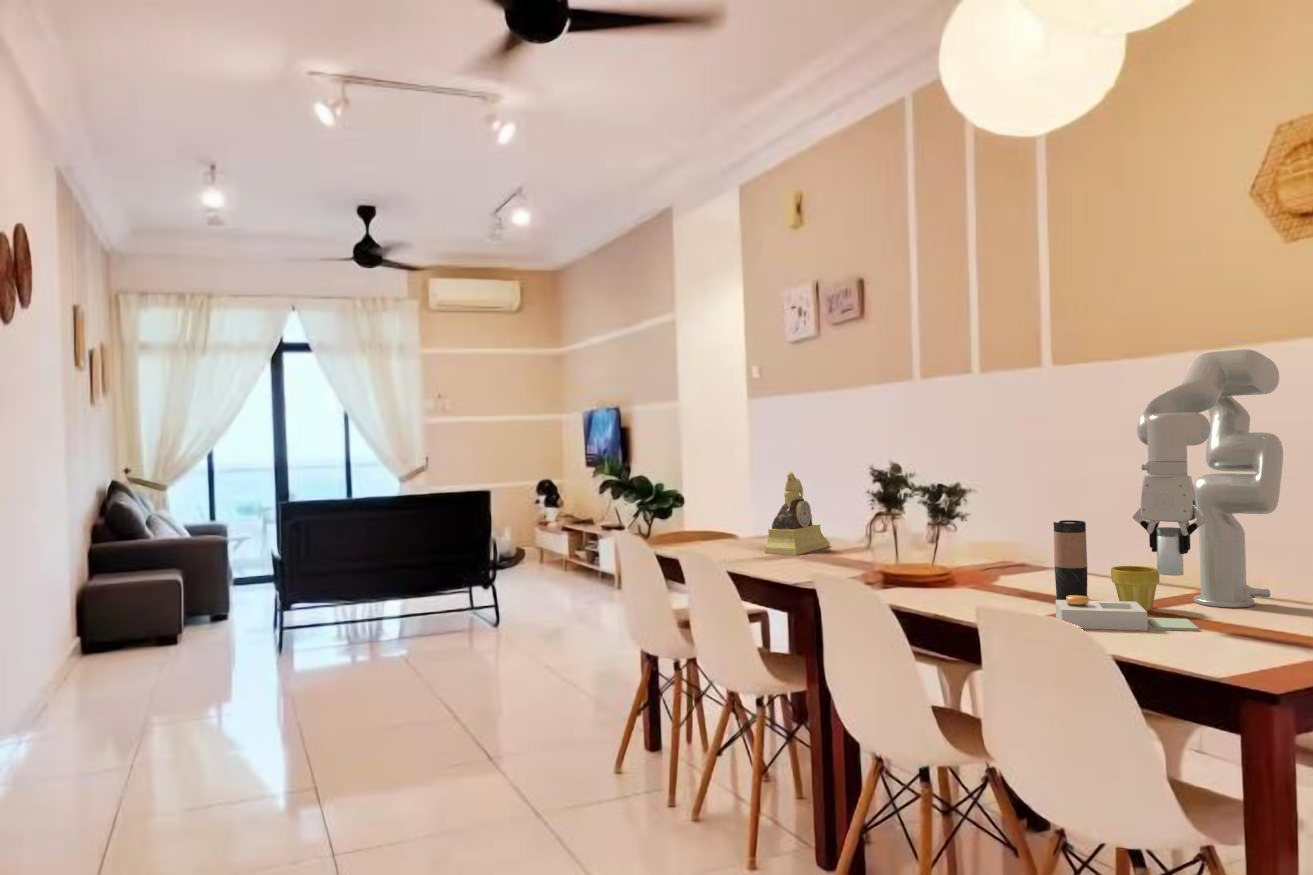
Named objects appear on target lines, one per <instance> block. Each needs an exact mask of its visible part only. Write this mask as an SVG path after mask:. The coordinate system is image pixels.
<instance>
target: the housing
mask: <svg viewBox="0 0 1313 875" xmlns="http://www.w3.org/2000/svg"><path fill="white" fill-rule="evenodd" d="M1055 618H1056V619H1057V618H1058V619H1060V620H1064V621H1066V622H1069V623H1072V624H1075V625H1078V626H1080V627H1082V628H1081V629H1089V630H1090V629H1092V630H1121V631H1122V630H1123V631H1148V630H1149V629H1148V619H1147V618H1148V611H1146V610H1145V609H1144V608H1142V607H1141V606H1140V605H1139V604H1138V603H1137V602H1130V601H1119V600H1089V603H1088V604H1085V607H1070V603H1067V602H1066V600H1057V599H1055Z"/></svg>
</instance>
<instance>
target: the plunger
mask: <svg viewBox="0 0 1313 875" xmlns="http://www.w3.org/2000/svg"><path fill="white" fill-rule="evenodd" d="M1089 598H1090V597H1088V595H1087V596H1080V595H1070V596H1066V602H1067V603H1070V607H1085V604H1088V603H1089V601H1090V600H1089Z"/></svg>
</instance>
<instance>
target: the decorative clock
mask: <svg viewBox="0 0 1313 875" xmlns="http://www.w3.org/2000/svg"><path fill="white" fill-rule="evenodd" d="M786 477H787V480H786V481H785V487H784V491H785V492H784V493H783V494H784V503H783V504H782V506H781V508H780V509H779V511H778V513H777V514H776V516H775V517H774V519H773V521H772V523H771V528H769V529H768V536H767V543H766V545H765V548H764V554H767V555H768V554H769V555H786V556H798V555H802V554H805V553H809V552H810V553H811V552H813V551H816V550H820V549H823V548H827V547H830V546H831V545H830V544H831V541H830V540H829V539H828V538H827V537H825V536H824V534H823V533H822V530H821V524H815V523H813V520H812V519H813V516H812V509H811V506H810V503H809V502H808V501H807V500H805V499H804V498H803V497H804V488H803V485H802V483H801V480H800V479H799V478H798V477H795V474H794V472H792V471H788V472H787V473H786Z"/></svg>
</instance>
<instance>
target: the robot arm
mask: <svg viewBox="0 0 1313 875" xmlns="http://www.w3.org/2000/svg"><path fill="white" fill-rule="evenodd" d="M1279 382H1280V372H1279V368H1278V367H1277V365H1276V363H1275V362H1274V361H1273V360H1272V359H1271V358H1269V357H1267V356H1266V355H1264V354H1262V353H1260V352H1258V351H1256V350H1252V349H1232V350H1222V351H1221V350H1220V351H1211V352H1206V353H1203V354H1200V355H1199V356H1197V357H1196V358H1195V360H1194V361H1193V363H1192V364H1191V366H1190V368H1189V369H1188V372H1187V373H1186V375H1185V376H1184V379H1183V380H1182V382H1181V384H1179V385H1176V386H1175V387H1172V388H1171V389H1169V390H1167V391H1164V393H1162V394H1159V395H1158V396H1156V397H1155V398H1153V399H1151V401H1150V402H1148V404H1147V405H1146V407H1144V410H1143V411H1142V413H1141V415H1140V417H1139V419H1138V422H1137V427H1136V431H1137V437H1138V439H1139V441H1140V442H1141V443H1143V445H1146V446H1147V462H1146V463H1145V464H1144V463H1143V464H1141V470H1142V471H1145V472H1146V473H1147V475H1145V476H1143V482H1142V487H1141V496H1140V497H1141V498H1140V507H1139V509H1137V511H1136V512H1135V513H1134V515H1133V516H1132V519H1133V520H1134V521H1135V522H1136V523H1138V524H1140V526H1141V527H1142V528H1143V529H1144V530H1145V531H1146V533H1147V534H1149V548H1151V552H1152V553H1155V552H1156V553H1157V537H1156V528H1159V526H1160V523H1161V522H1169V523H1177V524H1178V526H1179V528H1180V529H1181V532H1182V533H1181V535H1180V536H1179V546H1180V553H1181V554H1183V555H1186V554H1188V553H1189V551H1190V550H1191V535H1192V534H1193V533H1194V532H1195V531H1196V530H1197V529H1198V535H1199V536H1198V543H1199V574H1200V575H1199V576H1200V577H1199V579H1200V594H1196V595H1194V596H1193V602H1195V603H1196V604H1199V605H1204V606H1210V607H1211V606H1212V607H1218V608H1219V607H1220V608H1248V607H1253V606H1255V598H1256V597H1259V598H1270V596H1271V591H1270V589H1269V588H1260V587H1259V588H1257V587H1256V588H1255V587H1251V586H1250V585H1249V584H1247V563H1246V561H1247V559H1246V534H1245V530H1244V527H1243V526H1242V524H1241V523H1240V522H1239V521H1238V519H1237V518H1236V517H1235V516H1234V515H1233V514H1235V515H1236V514H1242V515H1243V514H1244V515H1245V514H1248V515H1249V514H1250V515H1267V514H1271V513H1273V512H1274V511H1275V510H1277V507H1278V504H1279V499H1280V490H1281V484H1282V483H1281V482H1282V473H1283V464H1284V462H1283V461H1284V450H1283V444H1282V441H1281V439H1280V437H1278V436H1277V435H1276V434H1273V433H1271V432H1260V431H1259V432H1250V425H1251V416H1250V413H1249V412H1248V411H1247V409H1245V407H1244V406H1243V405H1242V404H1241V403H1240V402H1238V401H1237V399H1235V398H1234V397H1233V396H1235V397H1236V396H1238V397H1239V396H1255V395H1269V394H1271V393H1272V392H1274V391H1275V390H1276V389H1277V388H1278V386H1279V384H1280V383H1279ZM1206 411H1208V413H1209V419H1208V418H1207V417H1206V416H1205V415H1204V414H1202V412H1206ZM1205 442H1206V448H1205V462H1206V464H1207V466H1208V467H1209V468H1211V469H1212V470H1214V471H1218V472H1245V473H1208V474H1204V475H1202V476H1199V477H1198V478H1197V479H1196V480H1195V482H1194V484H1193V479H1192V476H1190V475H1188V448H1187V447H1190V446H1191V447H1194V446H1199V445H1202V444H1204V443H1205ZM1247 472H1248V473H1247ZM1249 472H1250V473H1249ZM1251 472H1252V473H1251ZM1253 472H1255V473H1253ZM1195 519H1196V520H1195ZM1194 520H1195V521H1194ZM1190 521H1193V522H1192V523H1191V524H1190Z"/></svg>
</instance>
